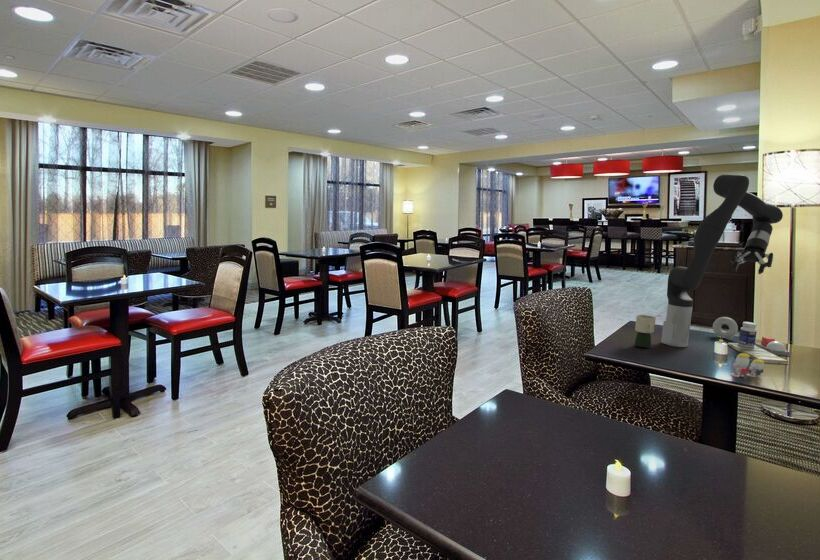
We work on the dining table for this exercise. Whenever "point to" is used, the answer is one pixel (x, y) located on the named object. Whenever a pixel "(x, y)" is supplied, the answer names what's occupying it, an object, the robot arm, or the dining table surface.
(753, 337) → the pill bottle
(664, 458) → the dining table surface
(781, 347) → the dice dome
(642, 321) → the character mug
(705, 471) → the dining table surface
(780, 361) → the game track
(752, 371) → the toy figures
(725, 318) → the donut
